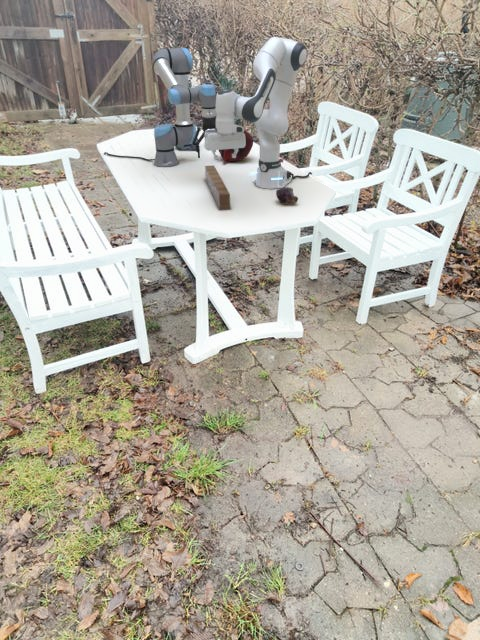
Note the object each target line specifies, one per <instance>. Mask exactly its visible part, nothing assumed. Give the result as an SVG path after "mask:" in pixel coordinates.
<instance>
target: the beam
mask: <svg viewBox="0 0 480 640" xmlns="http://www.w3.org/2000/svg"><path fill="white" fill-rule="evenodd" d="M204 170H205V171H204V173H205V180H206V183H207V185H208V187H209V190H210V191H211V194H212V196H213V198H214V200H215V202H216V203H215V204H216V205H217V207H218V209H219V211H223V210H231V196H230V195H231V194H230V192H229V190H228V188H227V187H226V185H225V183H224V181H223V179H222V177H221V176H220V174H219V172H218V170H217V169H216V166H215V165H205V166H204Z"/></svg>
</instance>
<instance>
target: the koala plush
mask: <svg viewBox="0 0 480 640" xmlns="http://www.w3.org/2000/svg"><path fill="white" fill-rule="evenodd" d="M198 139H199V137H197V140H196V142H197V141H198ZM196 142H195V143H196ZM174 148H176V149H179V150H181V151H185V150H186V151H187V150H188V151H196V146H195V145H193V144H189V145H179V146H174Z"/></svg>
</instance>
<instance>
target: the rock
mask: <svg viewBox="0 0 480 640" xmlns="http://www.w3.org/2000/svg"><path fill="white" fill-rule="evenodd" d="M275 192H276V193H275V195H276V198H277V200H278V202H279V203H280V204H283V205H289V204H292V205H294V204H296V203H298V201H299V197H298V196H297V195H295V194H294V188H292V187H291V186H284V187H283V188H278V189H276V191H275Z"/></svg>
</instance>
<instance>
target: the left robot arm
mask: <svg viewBox="0 0 480 640" xmlns="http://www.w3.org/2000/svg"><path fill="white" fill-rule="evenodd" d="M151 66H152V69H153V71H154V73H155V74H156V75H158V76H159V78H160V79H161V82H162V83H163V84H164V86H165V88H166V89H167V98H168V102H169V104H170V105H175V112H176V113H175V116H176V117H175V118H176V120H175V121H174V125H172V124H171V123H165V124H160V125H156V127H155V128H154V129H153V136H154V145H155V155H154V158H145V157H141V156H132V155H117V154H110V153H109V152H107V151H105V152H104V153H103V155H108V156H111V157H116V158H117V157H118V158H130V159H140V160H144V161H148V162H150V161H154V165H155V166H157V167H163V168H164V167H165V168H167V167H168V168H169V167H174V166H177V165H178V164H179V159H178V157H177V153H176V151H175V146H179V145H189V144H193V145H195V146H196V150H195V152H196V153H197V158H198V159H201V149H200V143H201V142H202V141H203V139H205V137H204V132H205V131H206V130H207V129H216V116H217V115H216V87H215V85H214V84H202V85H197V86H194V87H189V76H190V75H191V71H192V70H193V69H194V68H193V67H194V61H193V56H192V53H191V52H190V50H189V49H188V48H187V47H173V48H172V47H171V48H170V47H169V48H161V49H159V50H158V51H156V52H155V53H154V54H153V57H152V60H151ZM198 103H201V116H202V122H201V123H202V126H196V125H195V124H194V122H193V121H192V120H191V112H190V111H191V110H190V108H191V107H190V104H198ZM201 131H203V132H202V133H201V135H200V132H201ZM206 132H207V131H206ZM199 135H200V136H199ZM197 138H198V141H197V142H196V140H197ZM195 142H196V143H195ZM224 150H225V149H222V150H221V152H222V157H224ZM222 157H221V158H222Z"/></svg>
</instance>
